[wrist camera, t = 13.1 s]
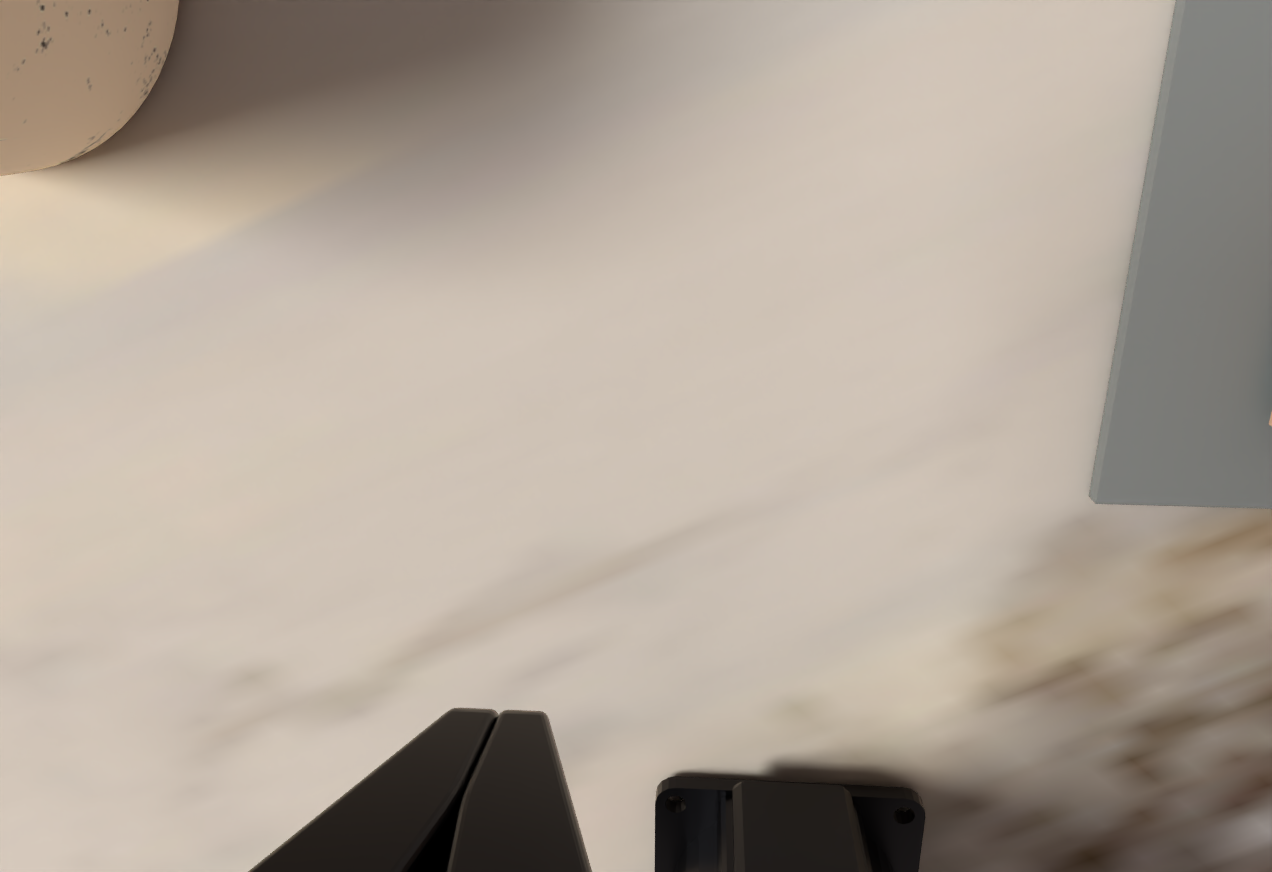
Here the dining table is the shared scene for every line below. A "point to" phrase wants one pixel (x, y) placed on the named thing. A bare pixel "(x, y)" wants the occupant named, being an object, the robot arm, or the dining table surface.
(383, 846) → the robot arm
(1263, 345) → the mat
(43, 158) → the teacup with lid
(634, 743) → the dining table surface
